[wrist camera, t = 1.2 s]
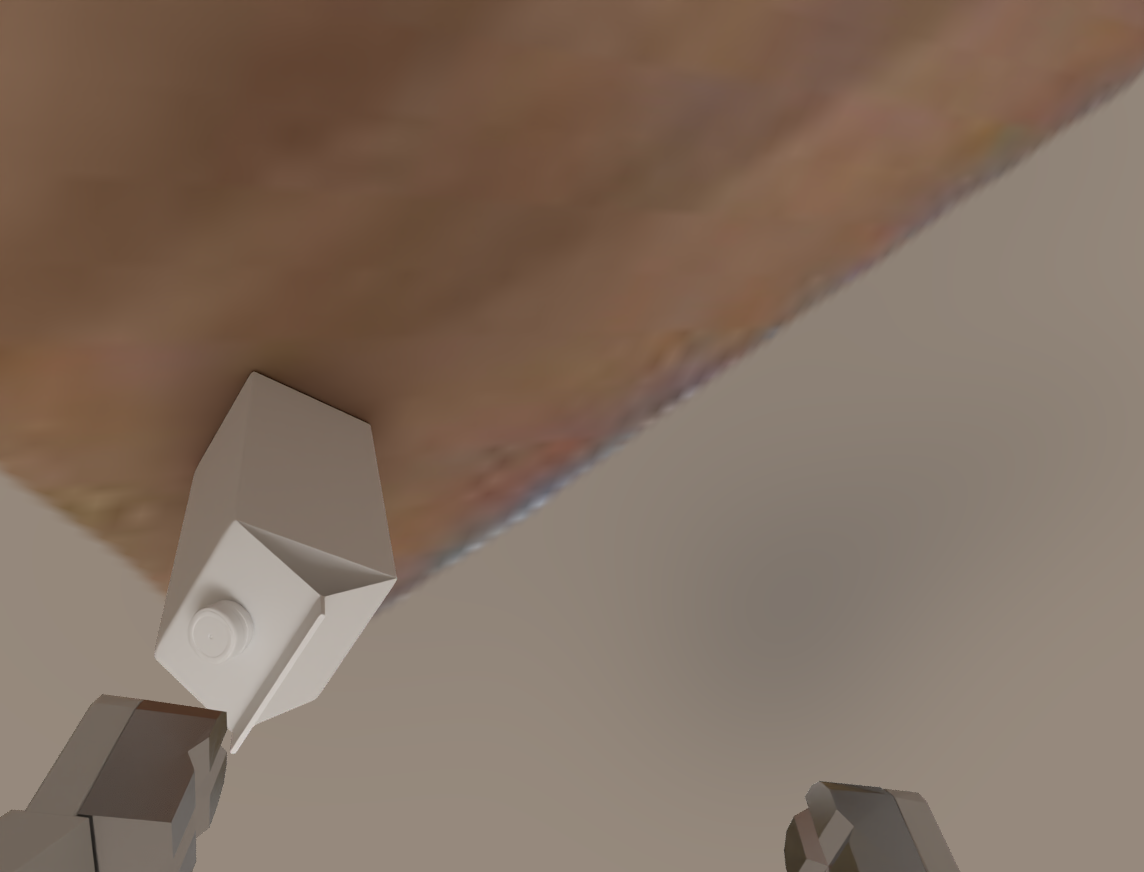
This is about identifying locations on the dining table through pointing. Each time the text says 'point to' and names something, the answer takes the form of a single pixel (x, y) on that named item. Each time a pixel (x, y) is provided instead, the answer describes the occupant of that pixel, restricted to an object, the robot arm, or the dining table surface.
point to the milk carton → (275, 556)
